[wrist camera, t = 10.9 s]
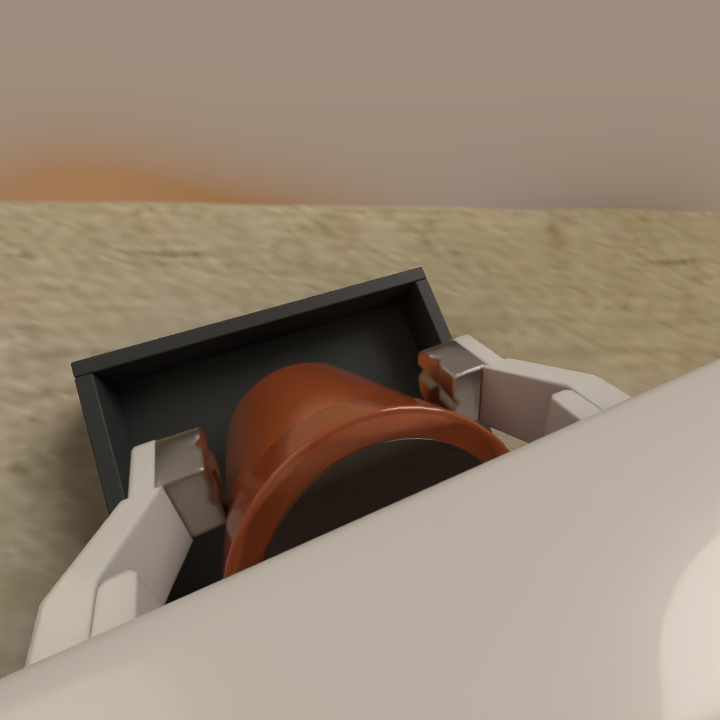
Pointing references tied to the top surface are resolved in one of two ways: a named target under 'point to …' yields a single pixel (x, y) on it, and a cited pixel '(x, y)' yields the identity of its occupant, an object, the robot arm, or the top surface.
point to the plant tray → (247, 378)
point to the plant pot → (332, 457)
